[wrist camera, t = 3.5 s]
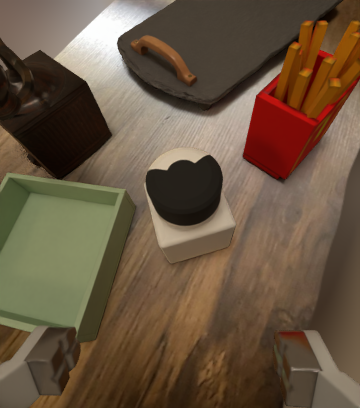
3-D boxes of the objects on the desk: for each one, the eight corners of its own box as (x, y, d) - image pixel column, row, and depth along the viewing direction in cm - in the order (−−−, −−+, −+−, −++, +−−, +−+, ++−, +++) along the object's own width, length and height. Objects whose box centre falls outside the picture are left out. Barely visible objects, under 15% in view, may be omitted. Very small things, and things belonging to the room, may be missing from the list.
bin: (95, 340, 25) (73, 343, 21) (-29, 307, 28) (-70, 305, 24) (136, 206, 31) (125, 189, 27) (31, 190, 34) (7, 172, 30)
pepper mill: (16, 146, 38) (-127, 15, 21) (73, 103, 40) (-15, -42, 24) (76, 206, 32) (-55, 91, 16) (137, 152, 35) (79, 7, 19)
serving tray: (249, -31, 53) (254, -72, 47) (351, 5, 44) (372, -40, 39) (105, 63, 44) (91, 26, 38) (198, 131, 35) (197, 96, 30)
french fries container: (326, 140, 33) (401, 28, 20) (286, 186, 31) (343, 92, 18) (280, 115, 35) (321, 2, 23) (240, 156, 33) (261, 55, 20)
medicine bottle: (230, 247, 28) (245, 200, 17) (169, 265, 28) (147, 229, 17) (210, 193, 31) (212, 126, 20) (155, 209, 31) (128, 149, 20)
